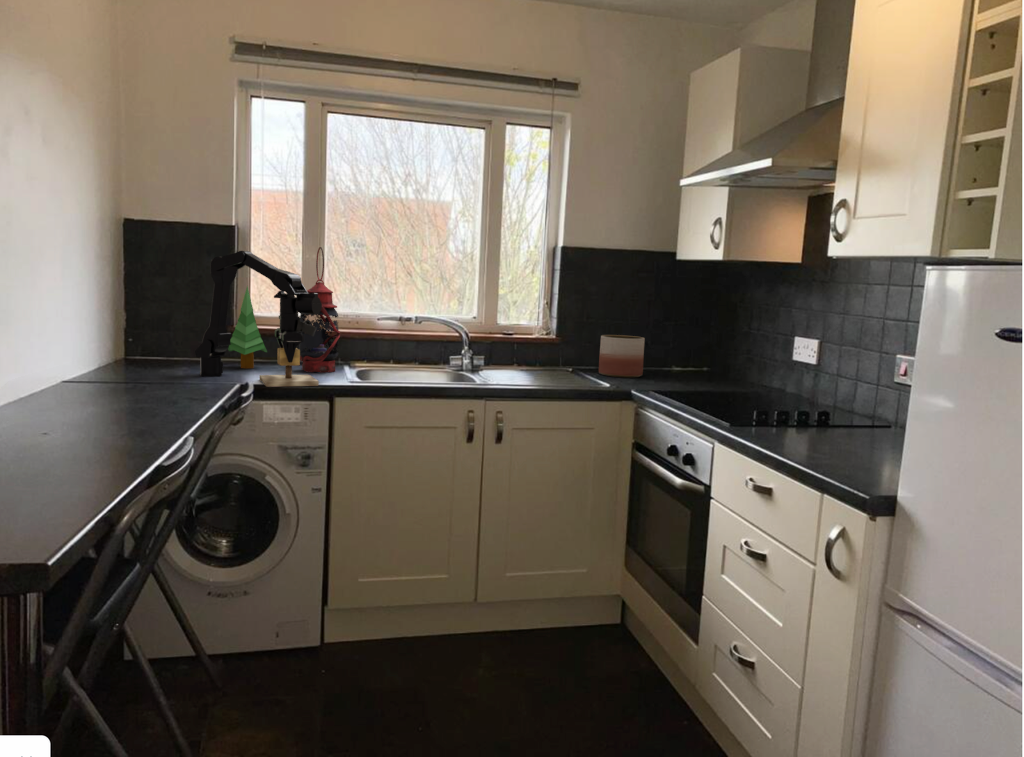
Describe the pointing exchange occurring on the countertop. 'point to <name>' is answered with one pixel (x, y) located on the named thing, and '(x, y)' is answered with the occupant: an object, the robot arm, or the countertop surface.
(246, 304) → the decorative tree
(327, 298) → the lantern
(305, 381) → the post board
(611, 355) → the planter
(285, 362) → the wooden crate frame
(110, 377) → the countertop surface
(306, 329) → the robot arm
